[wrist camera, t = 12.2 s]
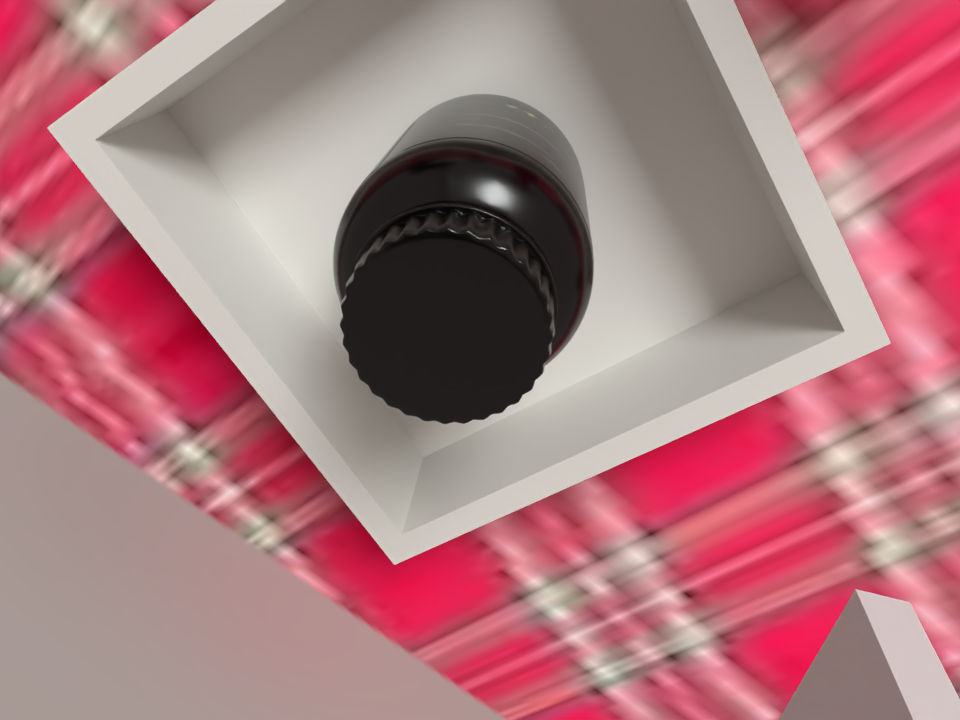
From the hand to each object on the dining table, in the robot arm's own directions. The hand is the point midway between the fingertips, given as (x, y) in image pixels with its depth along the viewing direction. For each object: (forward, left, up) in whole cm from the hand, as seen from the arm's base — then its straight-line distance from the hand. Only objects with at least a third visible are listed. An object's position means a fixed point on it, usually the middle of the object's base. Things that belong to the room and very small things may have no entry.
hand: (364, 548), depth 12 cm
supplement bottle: (0, 0, -20) cm, 20 cm away
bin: (0, 0, -21) cm, 21 cm away
